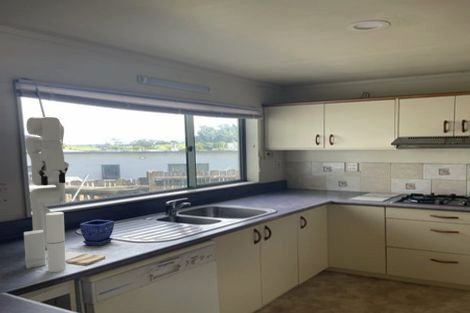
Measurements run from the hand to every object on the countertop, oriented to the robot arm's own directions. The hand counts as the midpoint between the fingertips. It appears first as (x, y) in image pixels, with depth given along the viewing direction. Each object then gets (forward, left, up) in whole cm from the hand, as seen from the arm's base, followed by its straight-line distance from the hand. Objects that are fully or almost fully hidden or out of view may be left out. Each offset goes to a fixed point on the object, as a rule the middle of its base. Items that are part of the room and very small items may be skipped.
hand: (53, 184), depth 179 cm
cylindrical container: (0, 0, -38) cm, 38 cm away
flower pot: (-14, +42, -38) cm, 59 cm away
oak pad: (+3, +15, -38) cm, 41 cm away
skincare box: (-15, +1, -38) cm, 41 cm away
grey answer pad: (-10, +15, -38) cm, 42 cm away
